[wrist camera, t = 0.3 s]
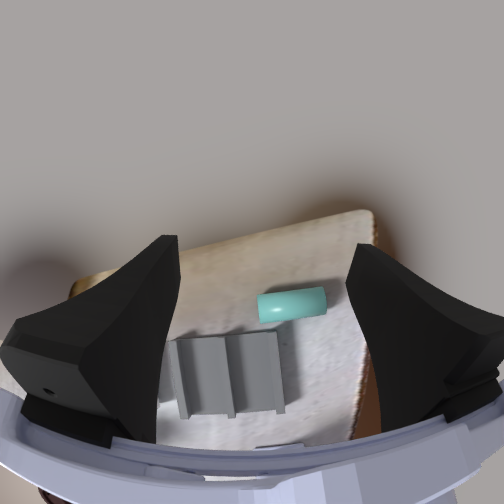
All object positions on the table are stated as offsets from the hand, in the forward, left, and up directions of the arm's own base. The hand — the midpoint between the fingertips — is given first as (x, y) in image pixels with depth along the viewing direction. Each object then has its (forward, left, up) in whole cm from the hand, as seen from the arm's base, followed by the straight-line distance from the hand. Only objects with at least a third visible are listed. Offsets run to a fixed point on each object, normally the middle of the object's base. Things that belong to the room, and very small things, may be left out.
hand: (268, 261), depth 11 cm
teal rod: (-2, -3, -30) cm, 30 cm away
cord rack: (-12, +7, -30) cm, 32 cm away
